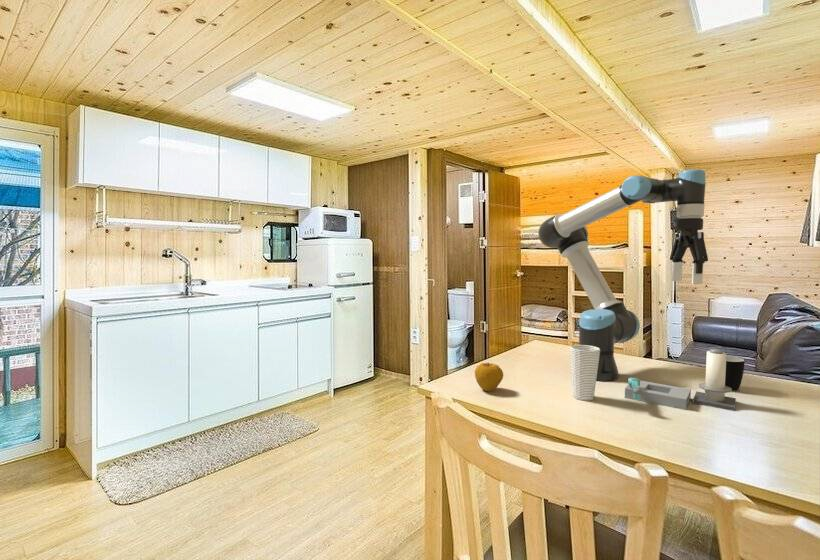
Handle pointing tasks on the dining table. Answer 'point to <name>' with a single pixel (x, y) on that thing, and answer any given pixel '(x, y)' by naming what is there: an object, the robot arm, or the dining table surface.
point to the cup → (584, 370)
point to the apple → (488, 376)
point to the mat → (726, 404)
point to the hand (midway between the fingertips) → (686, 282)
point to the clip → (635, 387)
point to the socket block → (661, 394)
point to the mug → (734, 372)
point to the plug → (715, 376)
